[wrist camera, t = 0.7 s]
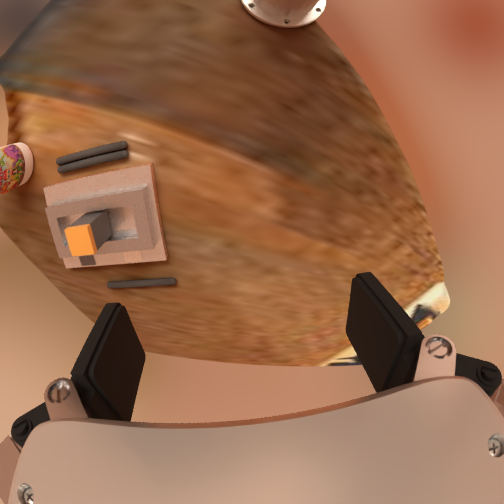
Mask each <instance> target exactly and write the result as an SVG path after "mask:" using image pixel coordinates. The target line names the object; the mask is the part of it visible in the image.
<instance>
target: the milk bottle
mask: <svg viewBox="0 0 504 504" xmlns="http://www.w3.org/2000/svg"><path fill="white" fill-rule="evenodd" d="M33 163H34V162H33V155H32V152H31V150H30V148H29V147H28V146H27V145H26V144H24V143H15V144H11V145H7V146H4V147H0V195H2V194H4V193H6V192H8V191H10V190H12V189H14V188H16V187H18V186H20V185H22V184H24V183H26V182H27V181H28V179H29V178H30V176H31V174H32V171H33Z"/></svg>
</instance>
